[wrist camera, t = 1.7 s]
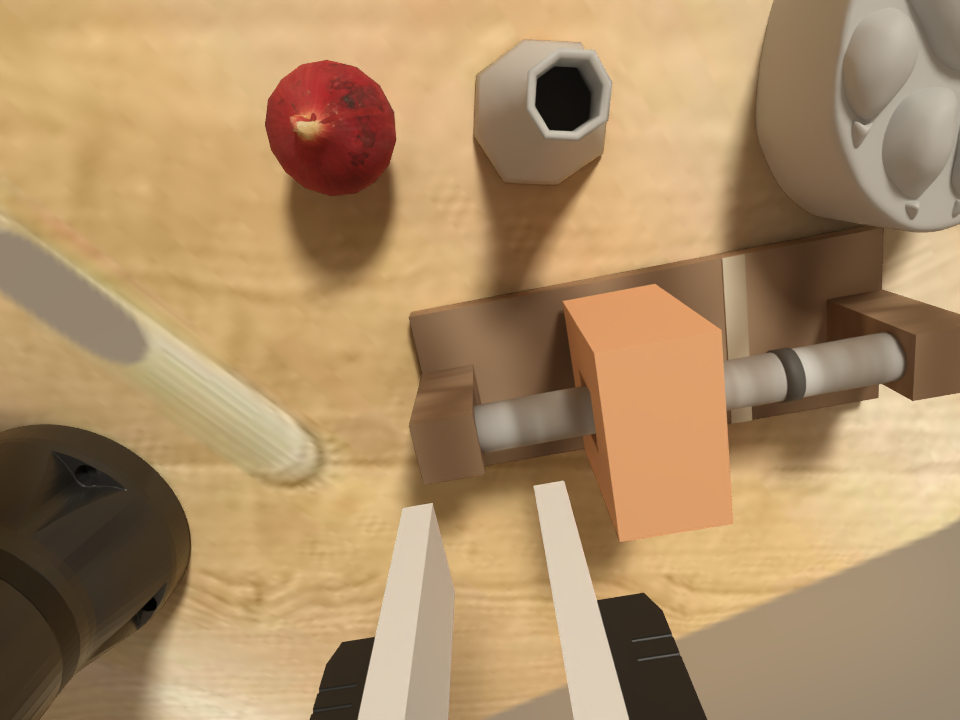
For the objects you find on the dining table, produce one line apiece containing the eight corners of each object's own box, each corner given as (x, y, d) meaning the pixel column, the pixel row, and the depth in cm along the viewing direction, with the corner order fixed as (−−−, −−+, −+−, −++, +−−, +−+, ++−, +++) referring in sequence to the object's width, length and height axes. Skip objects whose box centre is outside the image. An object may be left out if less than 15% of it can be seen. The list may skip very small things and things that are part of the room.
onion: (366, 50, 29) (328, 11, 22) (425, 155, 31) (408, 154, 23) (271, 111, 30) (203, 94, 23) (333, 211, 32) (289, 226, 24)
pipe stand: (446, 463, 37) (438, 543, 29) (411, 312, 34) (391, 357, 26) (865, 390, 36) (973, 454, 28) (869, 225, 32) (993, 246, 25)
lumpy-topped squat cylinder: (990, -61, 28) (1201, -152, 20) (928, 216, 32) (1082, 235, 24) (773, -56, 28) (896, -145, 20) (740, 220, 32) (829, 241, 24)
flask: (622, 165, 31) (684, 168, 22) (491, 203, 32) (498, 222, 22) (593, 18, 29) (650, -50, 20) (454, 61, 30) (443, 16, 20)
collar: (584, 447, 34) (619, 541, 26) (562, 301, 32) (594, 353, 23) (669, 433, 34) (733, 523, 26) (654, 283, 31) (721, 330, 23)
